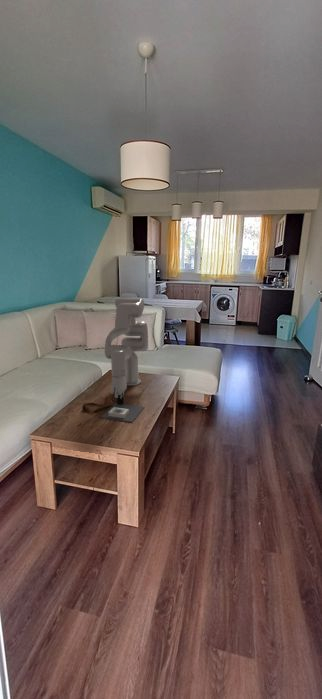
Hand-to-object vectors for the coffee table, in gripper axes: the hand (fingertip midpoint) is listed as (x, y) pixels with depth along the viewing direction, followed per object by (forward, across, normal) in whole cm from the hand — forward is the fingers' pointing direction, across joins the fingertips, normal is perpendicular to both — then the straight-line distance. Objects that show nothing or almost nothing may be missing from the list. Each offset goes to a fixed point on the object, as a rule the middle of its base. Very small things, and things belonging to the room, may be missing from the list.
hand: (120, 404), depth 177 cm
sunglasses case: (+6, -4, -15) cm, 16 cm away
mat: (+5, -1, +1) cm, 5 cm away
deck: (+4, -1, 0) cm, 4 cm away
